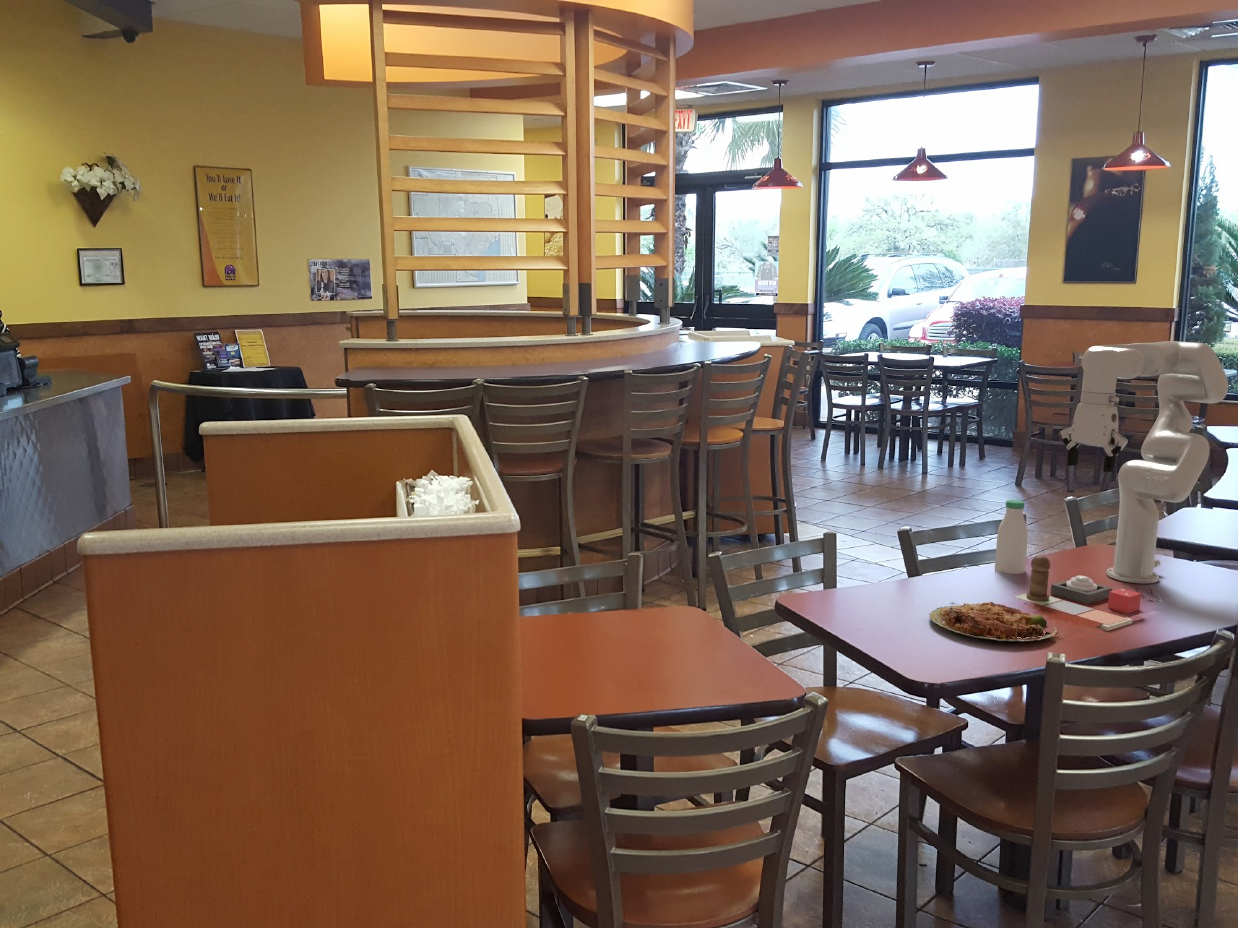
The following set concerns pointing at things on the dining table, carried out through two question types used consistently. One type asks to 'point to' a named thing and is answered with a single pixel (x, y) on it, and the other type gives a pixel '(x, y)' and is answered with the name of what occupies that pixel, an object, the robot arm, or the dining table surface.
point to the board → (1072, 608)
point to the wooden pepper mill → (1039, 579)
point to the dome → (1081, 584)
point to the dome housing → (1080, 593)
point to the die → (1124, 600)
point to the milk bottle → (1012, 540)
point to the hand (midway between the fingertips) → (1089, 468)
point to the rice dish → (990, 622)
